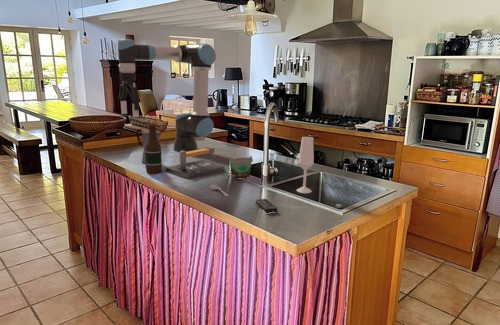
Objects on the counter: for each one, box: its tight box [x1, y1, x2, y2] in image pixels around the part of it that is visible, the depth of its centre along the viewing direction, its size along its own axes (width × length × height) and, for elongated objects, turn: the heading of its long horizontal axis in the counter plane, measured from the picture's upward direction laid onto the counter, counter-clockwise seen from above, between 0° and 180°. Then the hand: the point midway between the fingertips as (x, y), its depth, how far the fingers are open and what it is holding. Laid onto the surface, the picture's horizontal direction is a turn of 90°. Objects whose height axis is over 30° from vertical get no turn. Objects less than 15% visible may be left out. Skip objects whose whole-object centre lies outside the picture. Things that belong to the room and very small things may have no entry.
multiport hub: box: [255, 198, 278, 213], centre depth 144 cm, size 4×11×2 cm, turn 21°
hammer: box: [179, 146, 215, 170], centre depth 191 cm, size 20×5×9 cm, turn 138°
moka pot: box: [135, 128, 162, 164], centre depth 203 cm, size 10×15×20 cm, turn 78°
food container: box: [228, 155, 254, 179], centre depth 181 cm, size 12×6×10 cm, turn 117°
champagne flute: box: [296, 136, 315, 194], centre depth 163 cm, size 7×7×24 cm
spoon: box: [209, 183, 229, 197], centre depth 159 cm, size 4×21×2 cm, turn 32°
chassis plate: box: [165, 159, 226, 180], centre depth 192 cm, size 24×18×2 cm
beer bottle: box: [145, 123, 163, 175], centre depth 185 cm, size 8×8×24 cm
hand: (129, 115), depth 189 cm, fingers open, 13 cm apart
